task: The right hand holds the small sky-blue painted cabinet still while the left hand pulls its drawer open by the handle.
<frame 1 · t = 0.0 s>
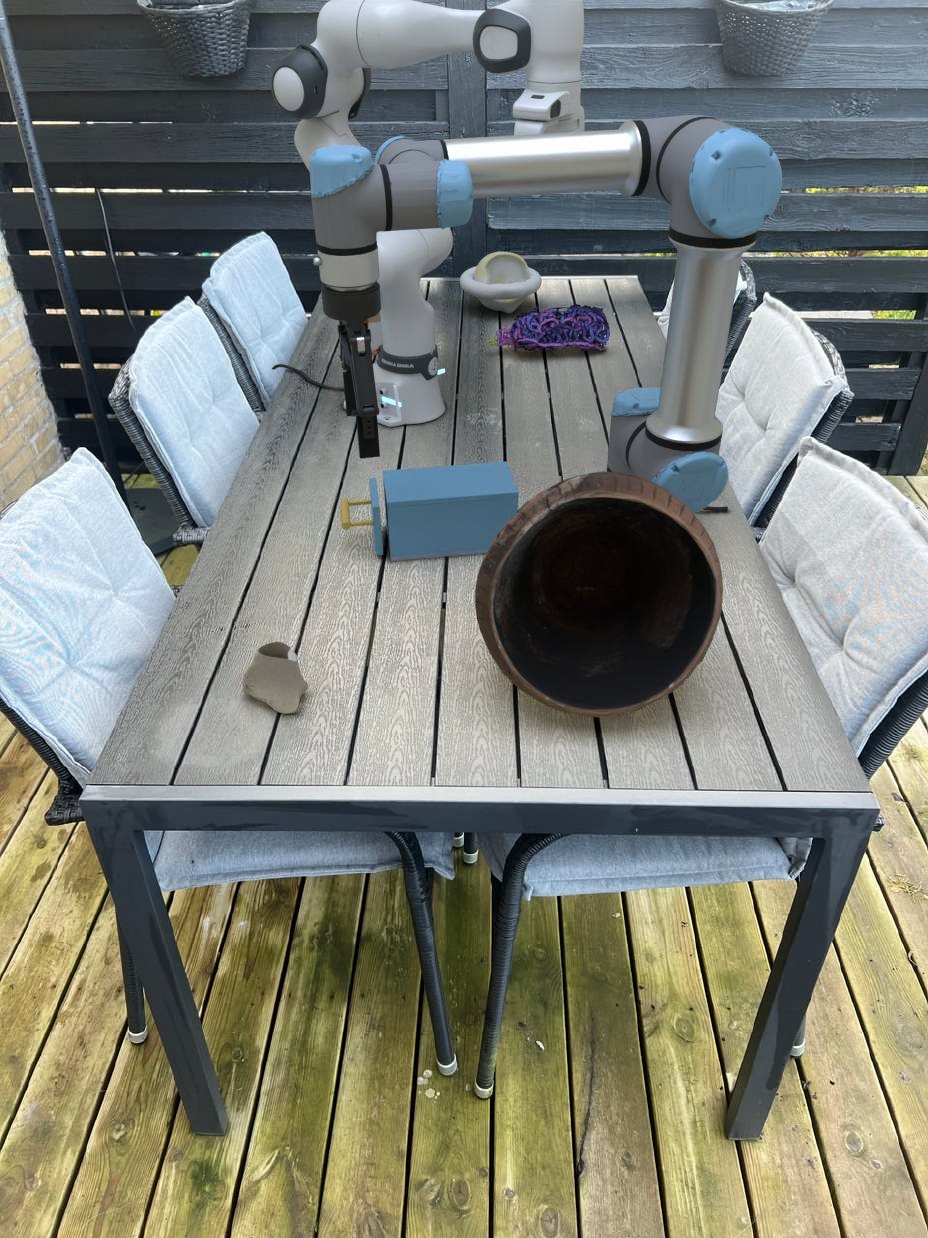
left hand: (549, 189, 161), 48 cm above the table, tool pointing down, fingers open, 8 cm apart
right hand: (362, 434, 131), 28 cm above the table, tool pointing down, fingers open, 13 cm apart
purple fibrous block: (546, 352, 228), on the table
pot: (589, 657, 136), on the table
drawer: (416, 513, 157), point 6 cm above the table, slide at 1.2 cm
hat: (500, 309, 253), on the table
grey flared pouch: (275, 700, 129), on the table
cabinet: (450, 538, 161), on the table
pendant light: (374, 347, 232), on the table
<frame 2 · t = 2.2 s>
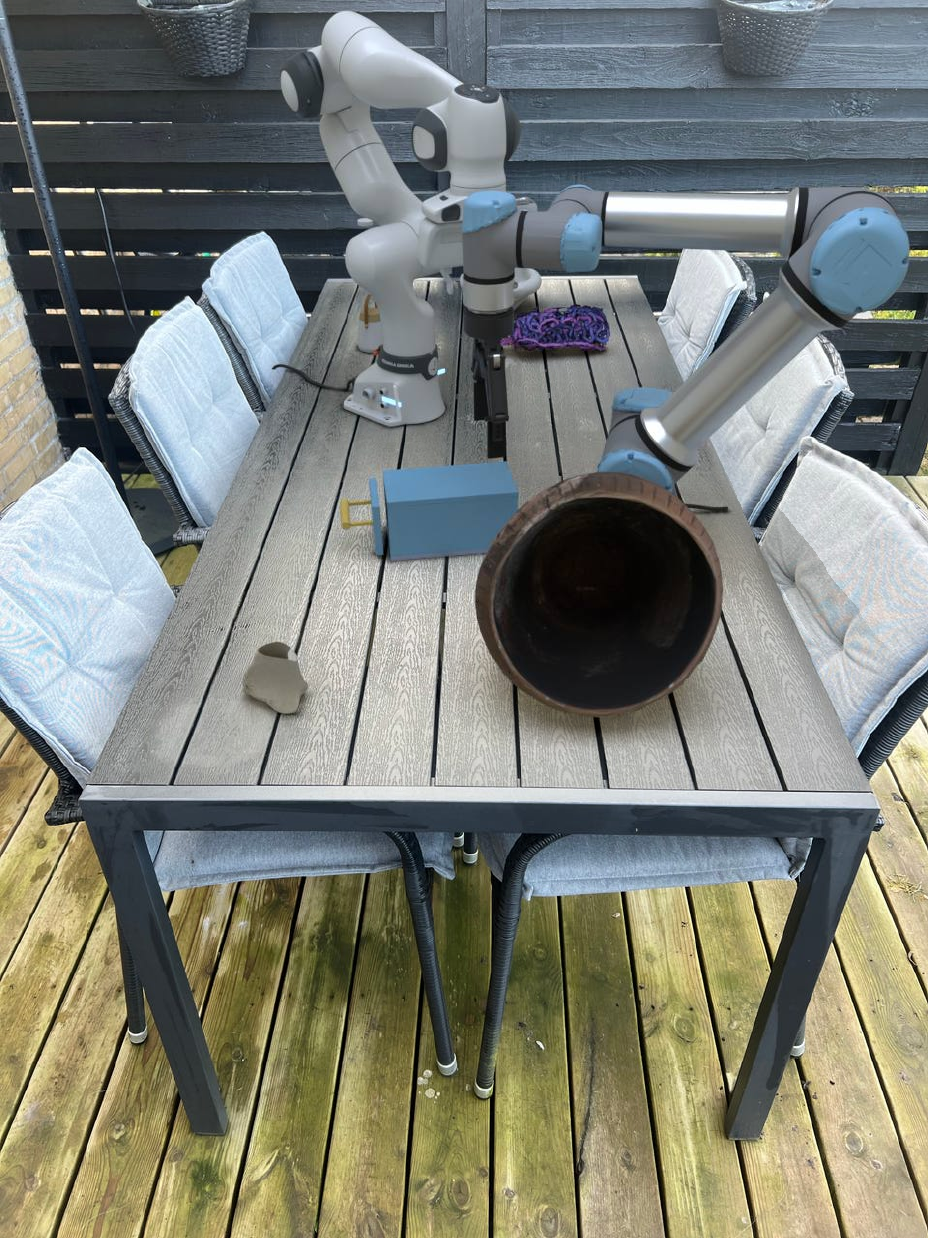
left hand: (478, 289, 157), 36 cm above the table, tool pointing down, fingers open, 8 cm apart
right hand: (488, 437, 150), 19 cm above the table, tool pointing down, fingers open, 13 cm apart
nothing on the table moved.
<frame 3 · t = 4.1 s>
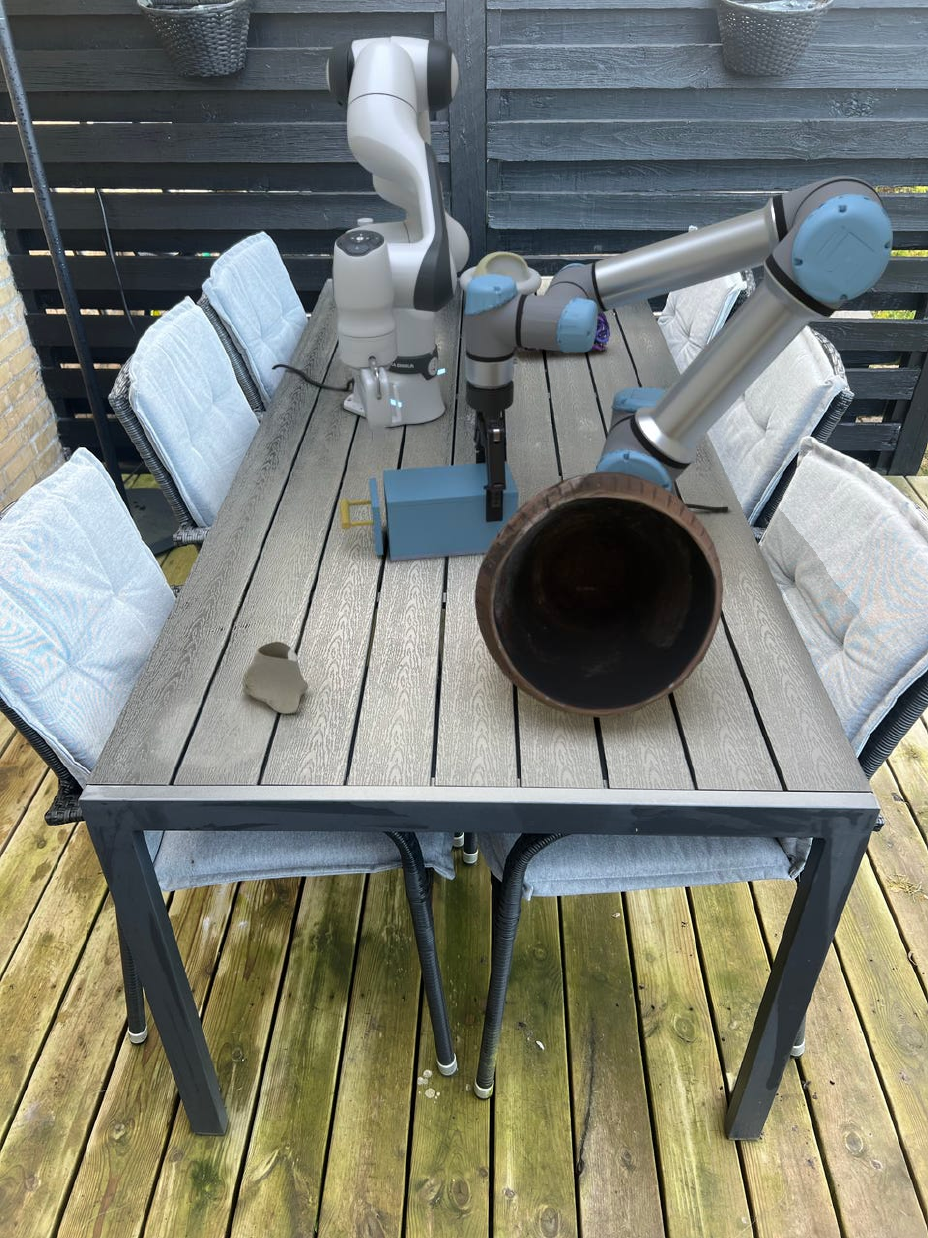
left hand: (374, 430, 150), 20 cm above the table, tool pointing down, fingers open, 8 cm apart
right hand: (488, 502, 158), 7 cm above the table, tool pointing down, fingers closed on cabinet, 11 cm apart
cabinet: (450, 538, 161), on the table, touching right hand
everything else where it was.
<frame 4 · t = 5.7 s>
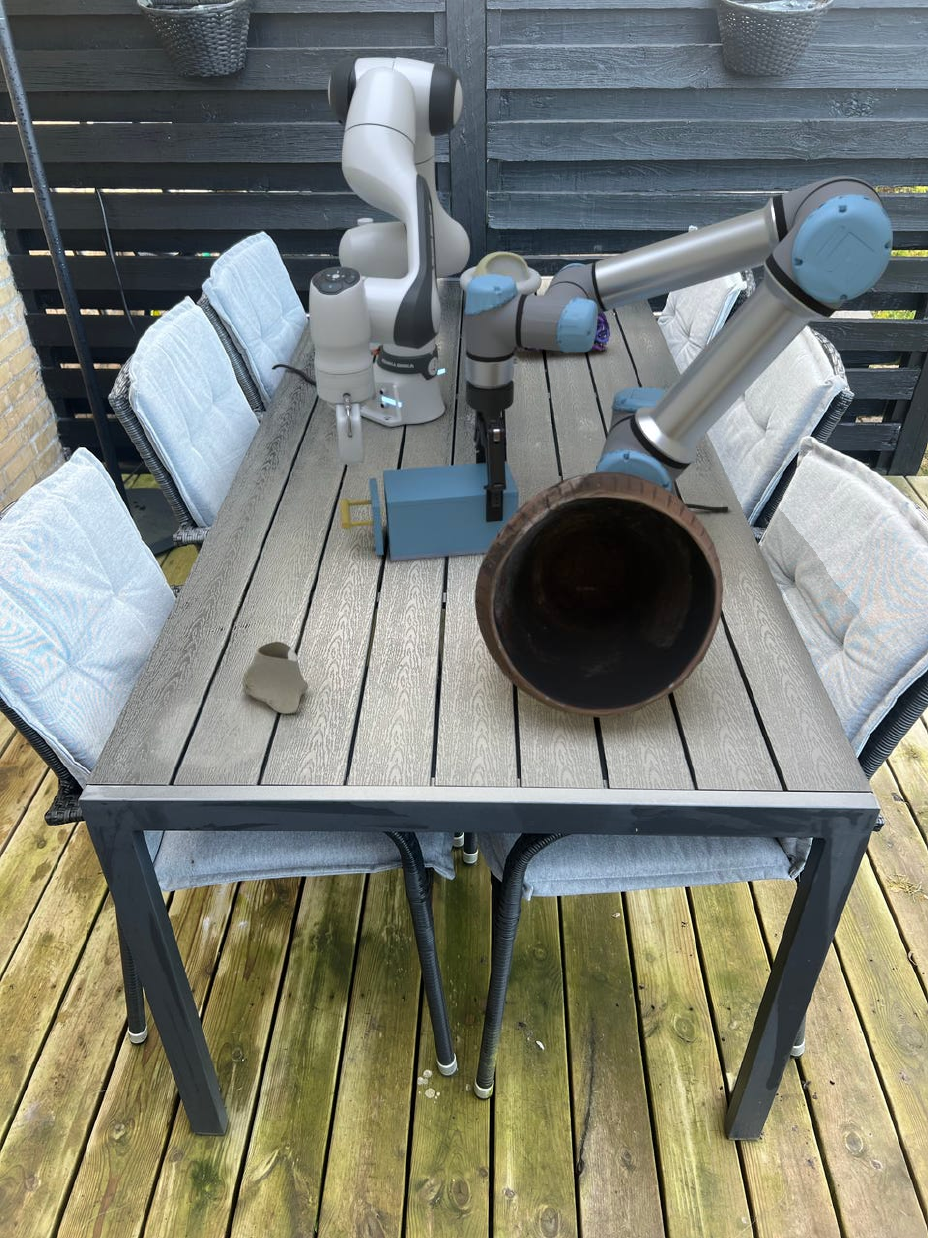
left hand: (352, 462, 150), 16 cm above the table, tool pointing down, fingers closed
right hand: (488, 502, 158), 7 cm above the table, tool pointing down, fingers closed on cabinet, 11 cm apart
cabinet: (450, 538, 161), on the table, touching right hand
everything else where it was.
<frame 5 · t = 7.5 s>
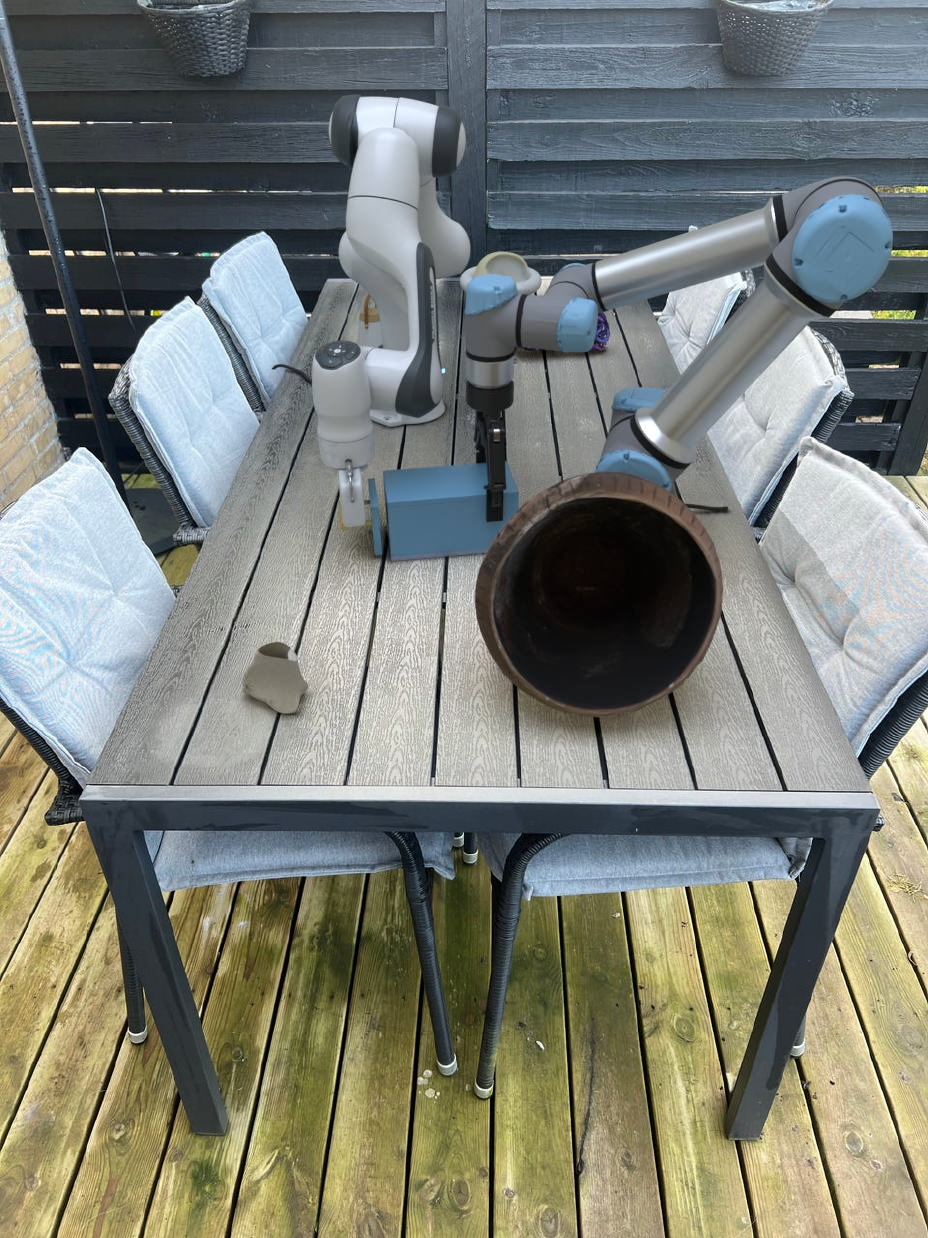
left hand: (354, 521, 157), 5 cm above the table, tool pointing down, fingers closed, pressing on drawer
right hand: (489, 502, 158), 7 cm above the table, tool pointing down, fingers closed on cabinet, 11 cm apart
drawer: (415, 513, 157), point 6 cm above the table, slide at 1.5 cm, touching left hand
cabinet: (450, 538, 161), on the table, touching right hand
everything else where it was.
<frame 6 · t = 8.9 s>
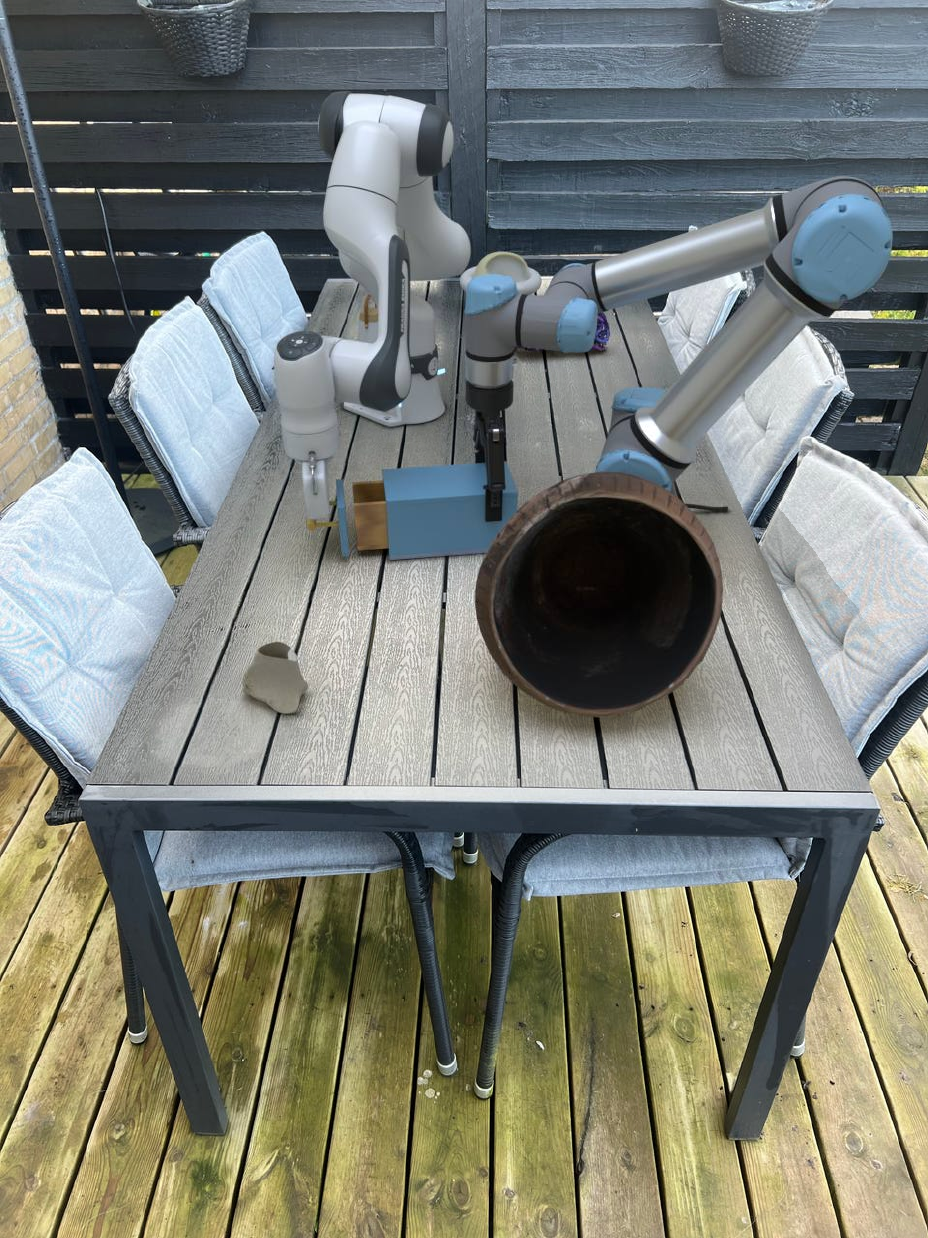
left hand: (321, 512, 155), 7 cm above the table, tool pointing down, fingers closed, pressing on drawer
right hand: (488, 502, 158), 7 cm above the table, tool pointing down, fingers closed on cabinet, 11 cm apart
drawer: (383, 514, 157), point 6 cm above the table, slide at 6.7 cm, touching left hand
cabinet: (449, 538, 161), on the table, touching right hand
everything else where it was.
when the right hand's fingers open (7 cm above the table, at t = 10.3 s): cabinet stays where it is, on the table.
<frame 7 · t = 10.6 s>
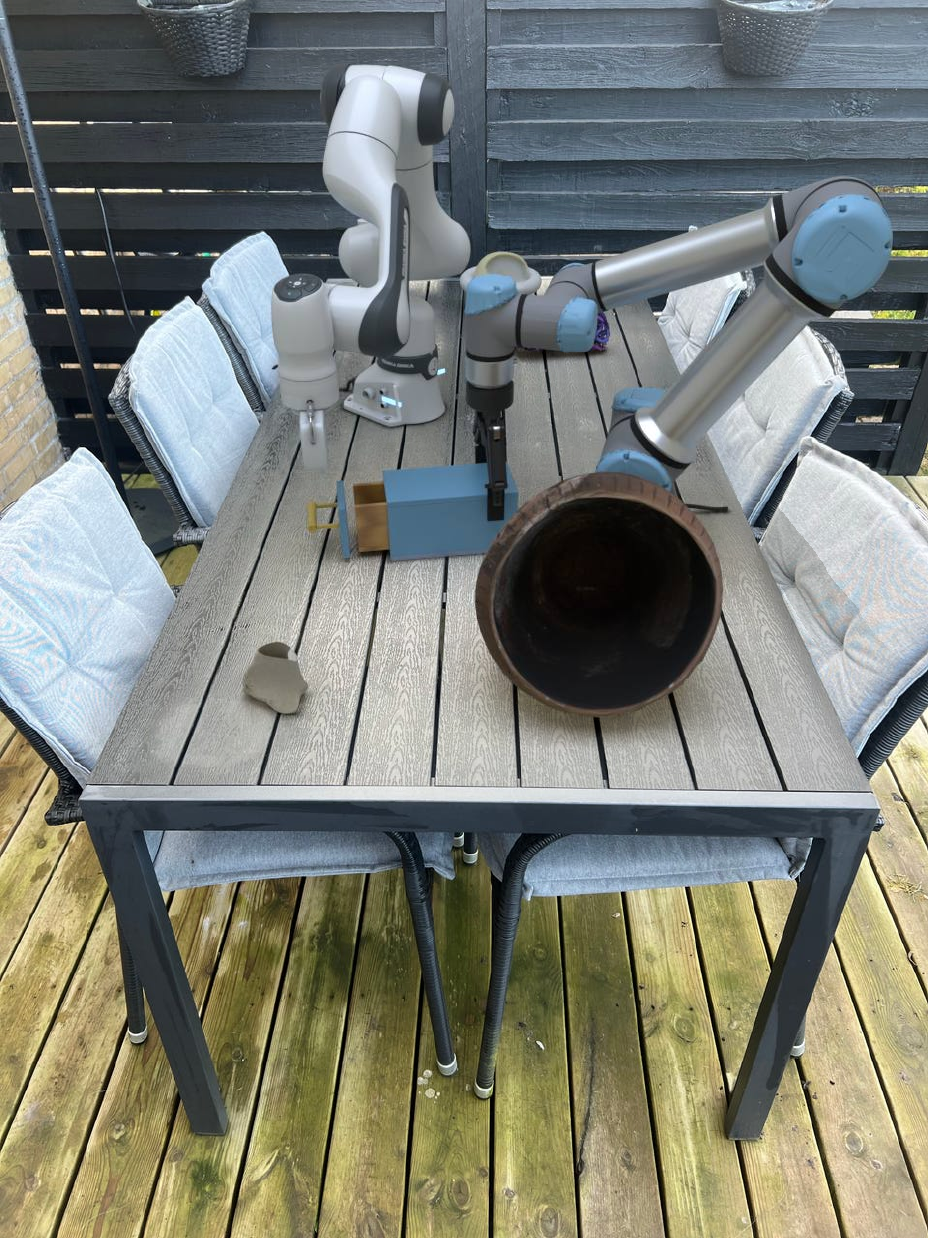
left hand: (319, 469, 150), 15 cm above the table, tool pointing down, fingers closed
right hand: (489, 499, 158), 7 cm above the table, tool pointing down, fingers open, 13 cm apart
drawer: (384, 515, 157), point 6 cm above the table, slide at 6.7 cm
cabinet: (450, 538, 161), on the table
everything else where it was.
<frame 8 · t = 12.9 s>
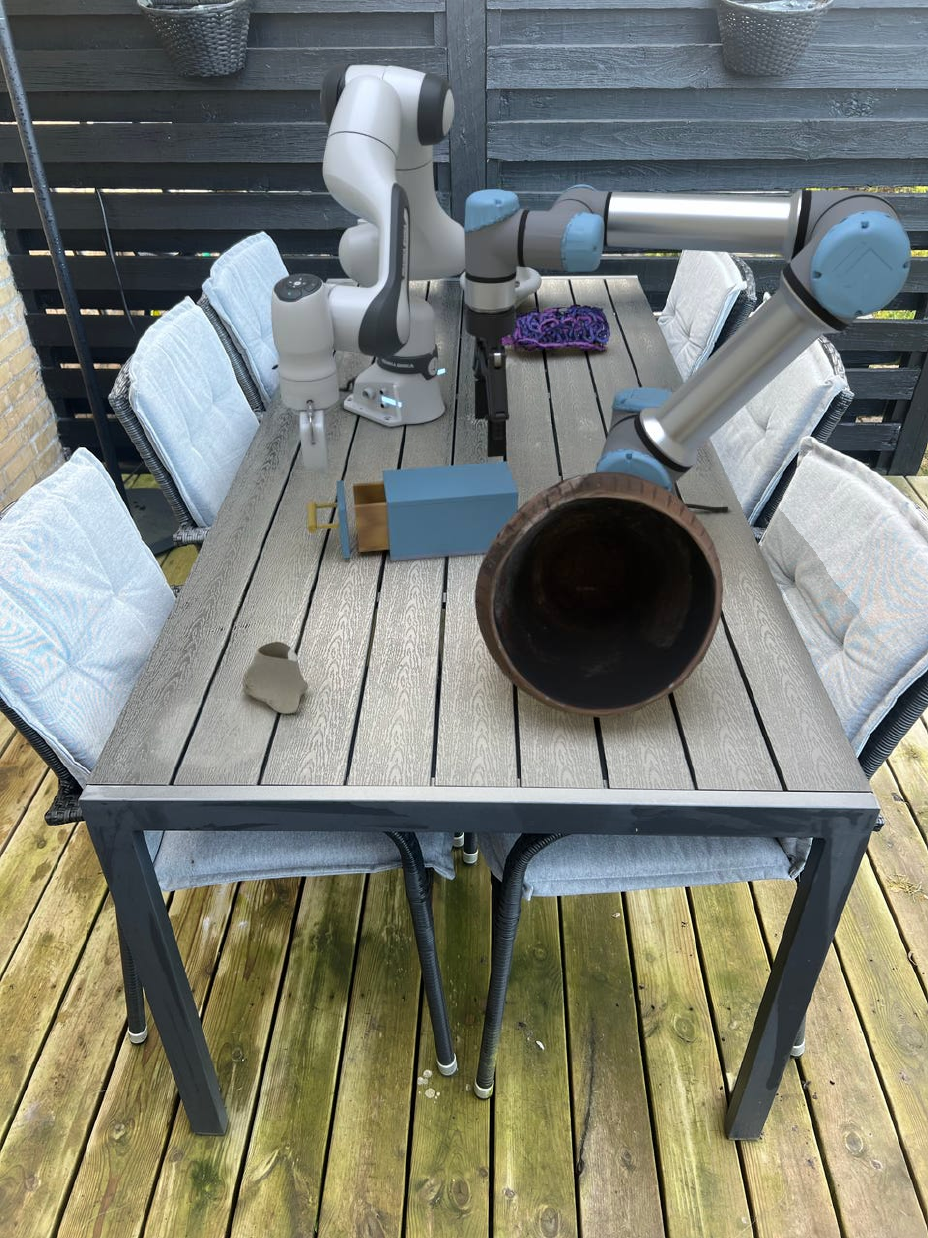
left hand: (319, 469, 150), 15 cm above the table, tool pointing down, fingers closed
right hand: (489, 436, 150), 19 cm above the table, tool pointing down, fingers open, 13 cm apart
nothing on the table moved.
at the end: drawer slide at 6.7 cm; cabinet tilted 0°; cabinet never tilted more than 1° during the clip; cabinet moved 0.0 cm from its start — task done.
